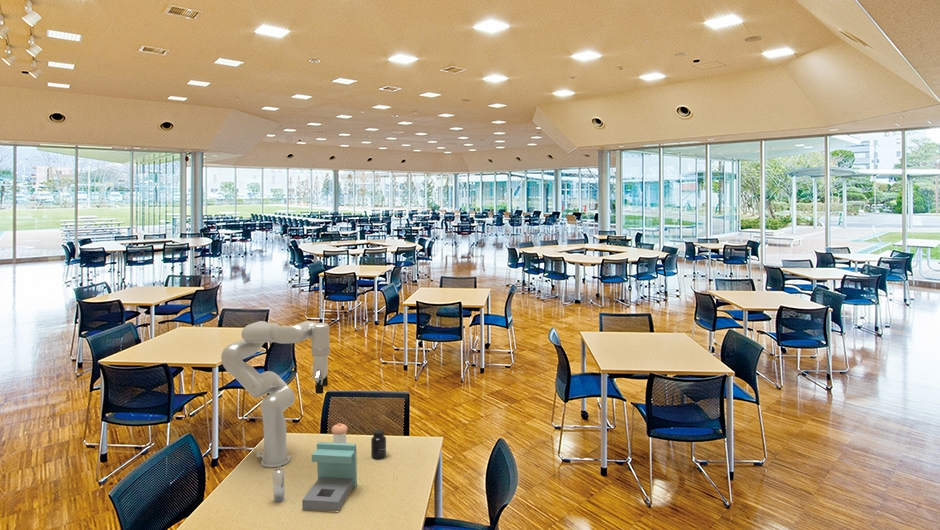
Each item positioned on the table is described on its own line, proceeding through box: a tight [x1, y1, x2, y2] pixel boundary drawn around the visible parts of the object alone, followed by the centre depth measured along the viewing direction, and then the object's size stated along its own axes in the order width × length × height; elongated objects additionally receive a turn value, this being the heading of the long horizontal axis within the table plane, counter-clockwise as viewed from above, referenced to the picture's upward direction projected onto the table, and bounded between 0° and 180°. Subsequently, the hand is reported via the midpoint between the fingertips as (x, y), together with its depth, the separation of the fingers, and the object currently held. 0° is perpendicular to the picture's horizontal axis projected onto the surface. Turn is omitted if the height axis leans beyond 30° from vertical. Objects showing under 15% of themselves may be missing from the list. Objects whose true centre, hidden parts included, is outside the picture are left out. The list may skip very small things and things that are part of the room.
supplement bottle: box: [370, 429, 387, 460], centre depth 248 cm, size 7×7×12 cm
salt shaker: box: [331, 422, 348, 443], centre depth 239 cm, size 7×7×19 cm
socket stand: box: [301, 441, 358, 512], centre depth 212 cm, size 16×20×18 cm
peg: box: [272, 467, 286, 504], centre depth 210 cm, size 4×4×12 cm
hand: (321, 389), depth 234 cm, fingers open, 9 cm apart
